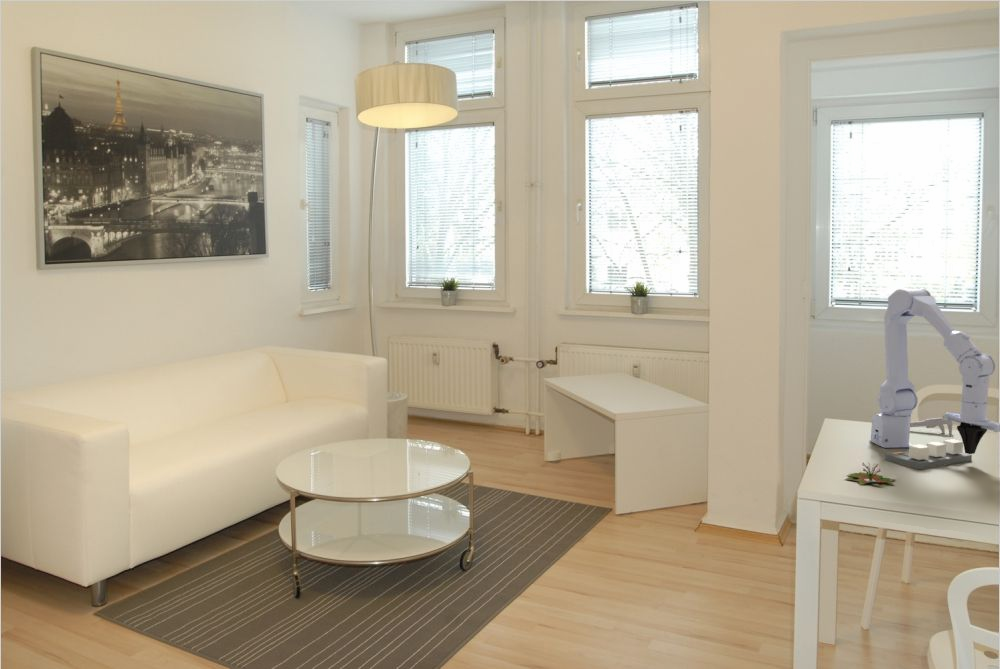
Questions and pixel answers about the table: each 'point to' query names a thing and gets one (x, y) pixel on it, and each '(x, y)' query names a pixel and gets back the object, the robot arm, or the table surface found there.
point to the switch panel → (927, 463)
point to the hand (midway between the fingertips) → (969, 453)
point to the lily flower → (870, 477)
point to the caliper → (933, 424)
